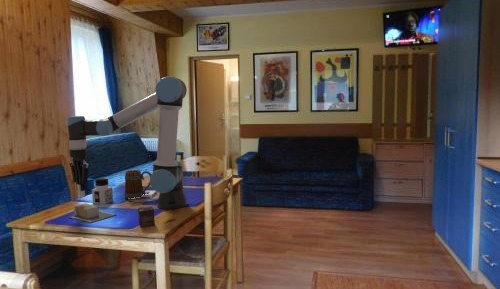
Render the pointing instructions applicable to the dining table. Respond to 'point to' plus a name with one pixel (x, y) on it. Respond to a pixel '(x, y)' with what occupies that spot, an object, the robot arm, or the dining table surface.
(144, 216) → the box
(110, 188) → the container
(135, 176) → the mug
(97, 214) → the skincare box
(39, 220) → the dining table surface
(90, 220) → the mat
